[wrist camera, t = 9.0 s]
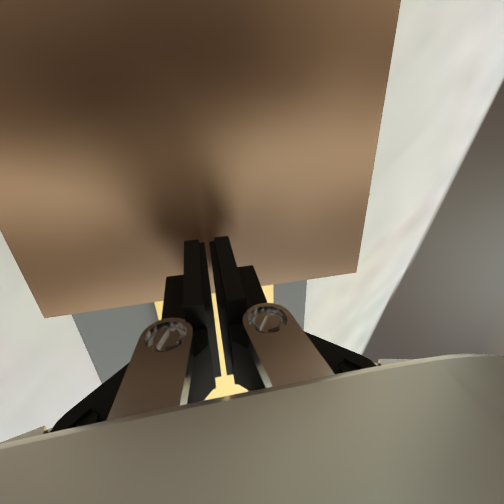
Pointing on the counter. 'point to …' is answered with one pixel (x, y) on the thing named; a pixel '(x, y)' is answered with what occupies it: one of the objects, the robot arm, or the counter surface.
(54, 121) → the block
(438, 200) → the counter surface
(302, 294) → the mat
